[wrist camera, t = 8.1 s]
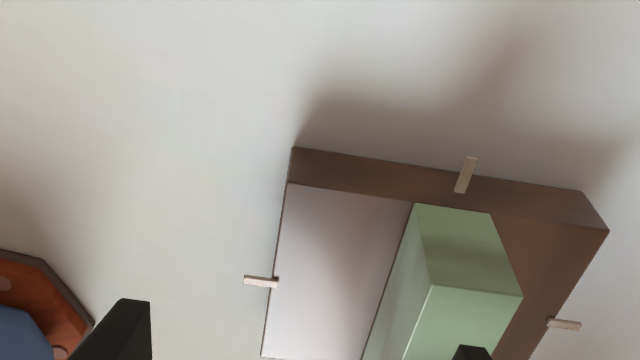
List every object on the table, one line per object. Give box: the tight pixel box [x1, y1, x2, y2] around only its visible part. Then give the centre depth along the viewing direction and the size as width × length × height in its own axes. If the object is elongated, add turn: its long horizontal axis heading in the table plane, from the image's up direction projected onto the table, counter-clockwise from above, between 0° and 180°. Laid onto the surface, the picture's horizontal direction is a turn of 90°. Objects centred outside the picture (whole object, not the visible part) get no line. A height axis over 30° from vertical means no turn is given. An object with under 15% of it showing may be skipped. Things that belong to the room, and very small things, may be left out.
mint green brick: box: [362, 203, 524, 360], centre depth 19 cm, size 10×3×4 cm, turn 171°
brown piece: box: [243, 147, 610, 360], centre depth 21 cm, size 14×14×3 cm
